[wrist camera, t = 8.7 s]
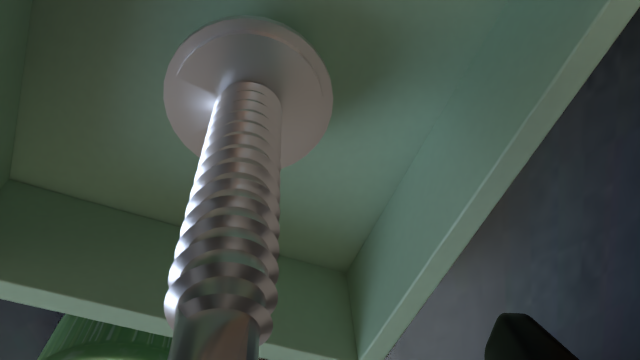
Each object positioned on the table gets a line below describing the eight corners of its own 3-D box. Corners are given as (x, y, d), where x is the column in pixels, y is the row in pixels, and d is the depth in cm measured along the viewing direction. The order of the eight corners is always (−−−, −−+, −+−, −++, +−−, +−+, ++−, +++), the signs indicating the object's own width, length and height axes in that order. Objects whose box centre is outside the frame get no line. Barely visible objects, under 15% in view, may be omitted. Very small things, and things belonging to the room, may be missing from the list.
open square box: (352, 277, 23) (368, 382, 19) (-6, 177, 19) (-93, 278, 15) (574, -90, 16) (690, -60, 11) (55, -369, 12) (-83, -491, 7)
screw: (357, 87, 17) (244, 165, 19) (263, -37, 15) (143, 61, 16) (475, 509, 6) (187, 620, 8) (204, 288, 4) (-134, 497, 6)
